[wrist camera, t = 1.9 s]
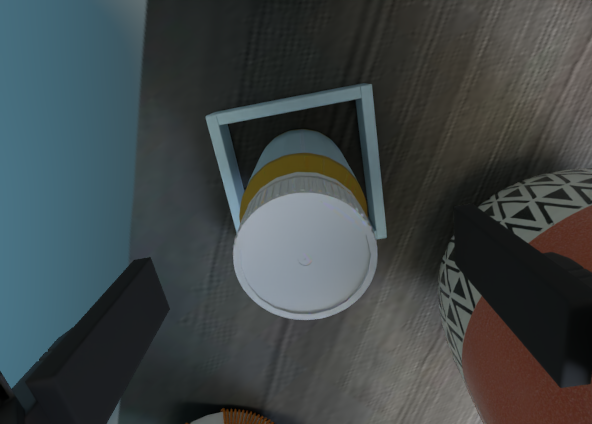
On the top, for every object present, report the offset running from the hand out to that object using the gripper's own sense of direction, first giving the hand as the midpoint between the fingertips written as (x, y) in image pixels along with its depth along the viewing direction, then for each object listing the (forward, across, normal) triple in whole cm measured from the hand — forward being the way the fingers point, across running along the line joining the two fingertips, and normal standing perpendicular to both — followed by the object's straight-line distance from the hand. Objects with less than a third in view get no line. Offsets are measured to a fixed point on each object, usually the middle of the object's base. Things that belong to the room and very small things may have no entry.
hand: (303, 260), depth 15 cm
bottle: (+15, 0, 0) cm, 15 cm away
